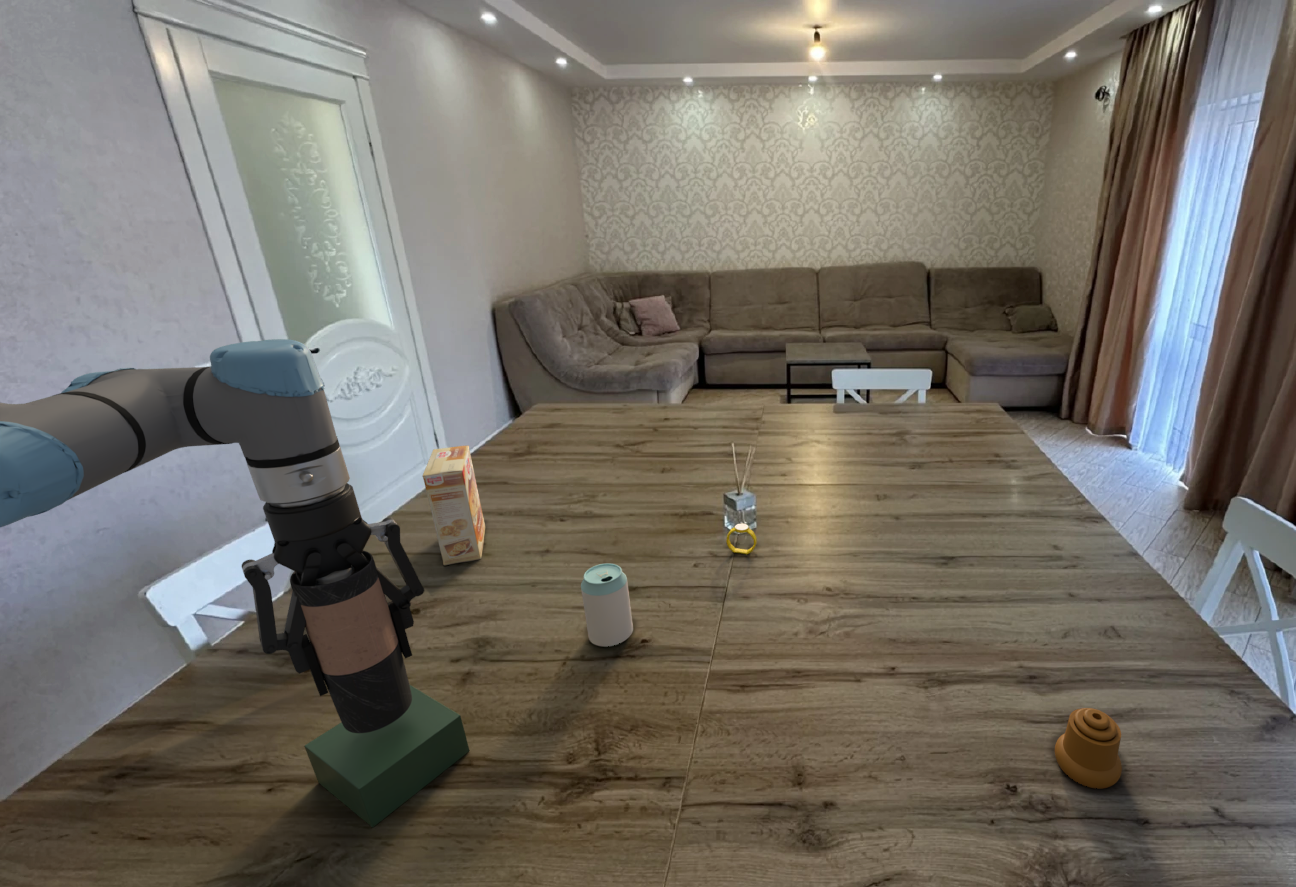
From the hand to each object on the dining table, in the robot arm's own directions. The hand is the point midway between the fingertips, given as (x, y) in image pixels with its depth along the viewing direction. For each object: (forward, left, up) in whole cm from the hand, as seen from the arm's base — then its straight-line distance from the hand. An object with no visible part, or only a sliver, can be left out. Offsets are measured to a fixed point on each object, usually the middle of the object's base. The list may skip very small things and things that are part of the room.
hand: (365, 669), depth 71 cm
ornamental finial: (+60, -62, -15) cm, 88 cm away
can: (+32, +3, -15) cm, 36 cm away
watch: (+64, +7, -15) cm, 66 cm away
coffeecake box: (+26, +51, -15) cm, 59 cm away
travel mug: (0, 0, -6) cm, 6 cm away
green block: (0, 0, -15) cm, 15 cm away
